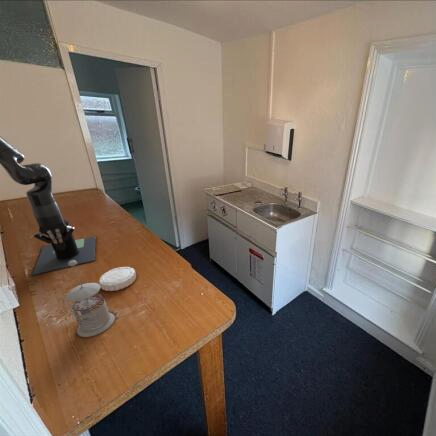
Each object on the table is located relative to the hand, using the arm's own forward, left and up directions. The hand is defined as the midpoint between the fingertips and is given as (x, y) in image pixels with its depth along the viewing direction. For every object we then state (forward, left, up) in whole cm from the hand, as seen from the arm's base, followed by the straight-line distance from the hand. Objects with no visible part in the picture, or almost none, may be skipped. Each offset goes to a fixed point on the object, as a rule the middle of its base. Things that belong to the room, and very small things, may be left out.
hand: (62, 249), depth 102 cm
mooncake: (+18, -28, -6) cm, 34 cm away
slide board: (0, +7, -6) cm, 9 cm away
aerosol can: (0, +5, -6) cm, 8 cm away
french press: (+10, -48, -6) cm, 49 cm away
